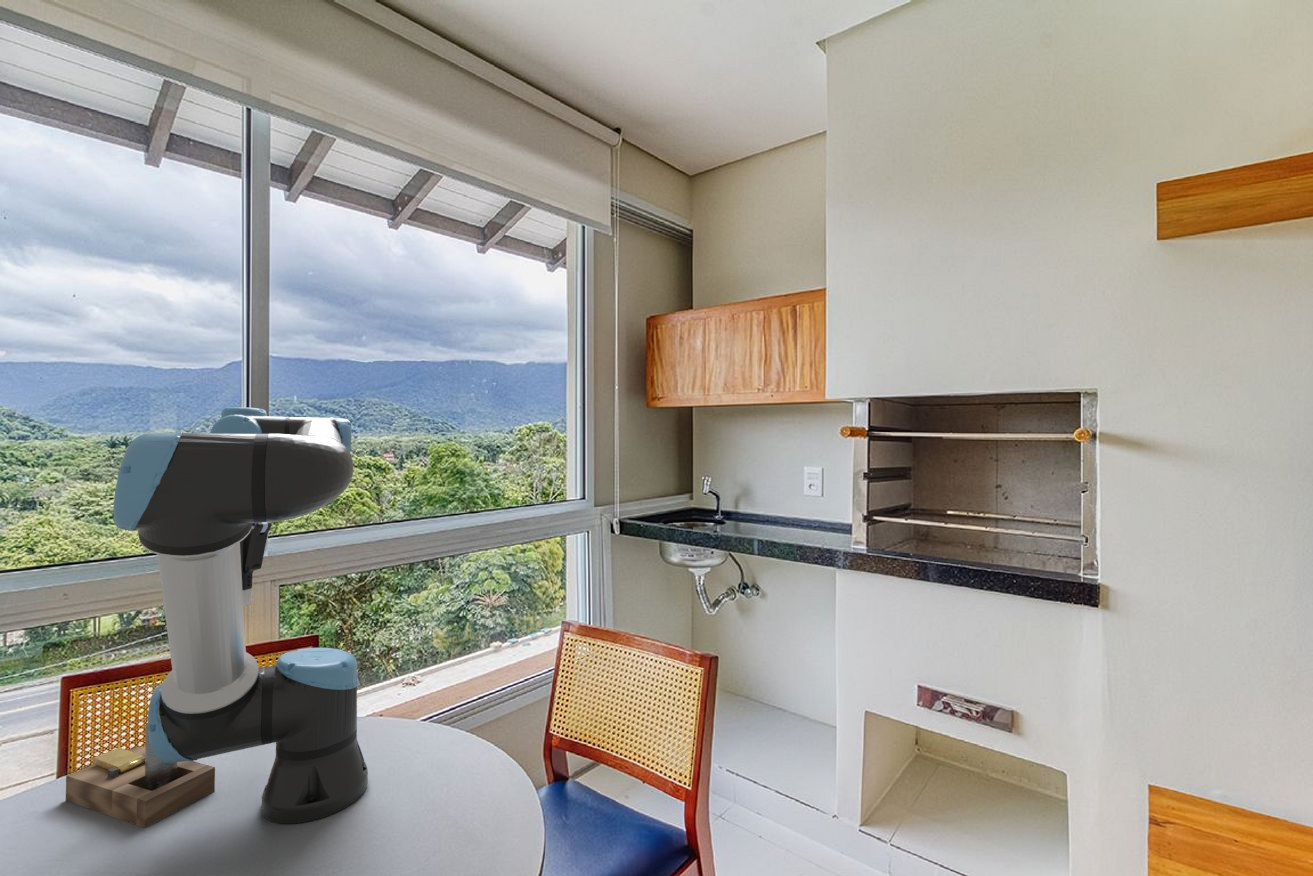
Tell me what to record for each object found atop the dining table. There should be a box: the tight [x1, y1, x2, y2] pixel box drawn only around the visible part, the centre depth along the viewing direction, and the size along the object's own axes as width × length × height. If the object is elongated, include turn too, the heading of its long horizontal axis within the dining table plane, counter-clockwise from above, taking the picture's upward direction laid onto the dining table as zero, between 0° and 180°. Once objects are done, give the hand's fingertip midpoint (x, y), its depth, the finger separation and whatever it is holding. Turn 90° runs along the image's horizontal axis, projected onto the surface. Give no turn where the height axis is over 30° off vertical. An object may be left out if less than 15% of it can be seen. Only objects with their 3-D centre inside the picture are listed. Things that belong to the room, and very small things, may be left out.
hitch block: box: [65, 745, 216, 828], centre depth 96 cm, size 20×10×5 cm, turn 70°
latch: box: [92, 746, 145, 774], centre depth 98 cm, size 7×4×1 cm, turn 70°
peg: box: [144, 722, 177, 791], centre depth 94 cm, size 4×4×13 cm
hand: (241, 605), depth 114 cm, fingers closed
